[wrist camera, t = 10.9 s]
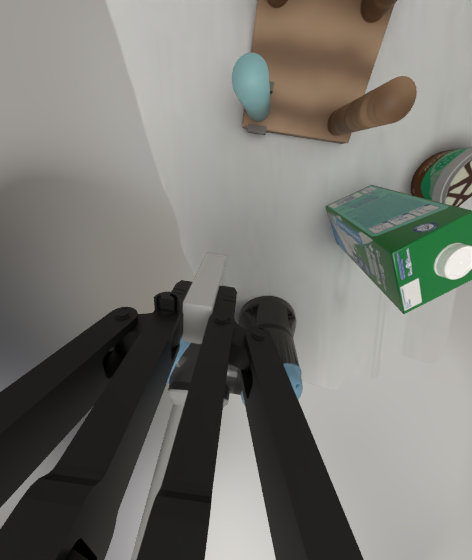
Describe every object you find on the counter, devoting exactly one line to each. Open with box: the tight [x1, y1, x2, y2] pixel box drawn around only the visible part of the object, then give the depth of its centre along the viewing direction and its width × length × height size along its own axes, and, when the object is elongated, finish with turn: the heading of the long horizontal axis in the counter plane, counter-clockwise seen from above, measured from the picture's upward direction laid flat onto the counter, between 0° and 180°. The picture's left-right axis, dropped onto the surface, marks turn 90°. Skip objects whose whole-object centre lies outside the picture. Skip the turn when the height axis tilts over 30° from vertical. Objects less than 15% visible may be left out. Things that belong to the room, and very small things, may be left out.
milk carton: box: [326, 185, 472, 314], centre depth 35 cm, size 9×9×25 cm
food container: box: [411, 147, 472, 207], centre depth 36 cm, size 12×6×10 cm, turn 149°
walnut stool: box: [242, 0, 416, 144], centre depth 27 cm, size 19×18×19 cm
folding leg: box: [232, 53, 271, 122], centre depth 27 cm, size 4×4×14 cm
